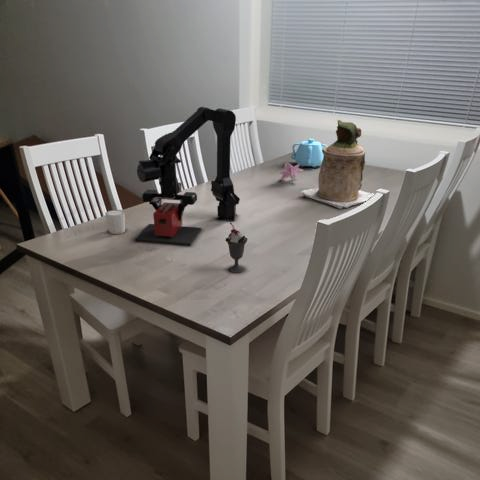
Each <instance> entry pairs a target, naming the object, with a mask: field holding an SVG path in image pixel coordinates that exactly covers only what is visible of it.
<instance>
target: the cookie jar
mask: <svg viewBox="0 0 480 480" xmlns="http://www.w3.org/2000/svg"><path fill="white" fill-rule="evenodd" d="M335 134H336V138H337V139H336V140H335V141H333V143H331V144H330V145H327V146H326V147H325V146H323V147H322V148H323V149H322V153H323V160H322V164H321V165H320V169H319V173H318V177H317V179H318V180H317V181H318V182H317V183H318V187H315V188H310V189H303V190H301V191H300V193H301V194H302V198H303V197H307V198H310V199H313V200H315V201H318V202H321V203H324V204H327V205H330V206H333V207H335V208H337V209H339V210H342V208H349V207H352V206H357V205H359V204H362V203H365V201H366V202H368V201H367V200H368V199H369V198H370V197H372V196H373V195H374V194H375V193H373V192H368V191H364V190H361V188H362V181H363V178H364V177H363V171H364V170H365V164H366V151H365V150H364V148H363V147H362V146H361V145H359V144H358V140H357V139H358V138H360V137H361V136H362V129H361V128H360V127H357V124H355V123H353V122H352V121H351V122H350V121H348V122H347V121H342V120H340V119H337V126H336V130H335Z"/></svg>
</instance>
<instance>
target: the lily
mask: <svg viewBox="0 0 480 480" xmlns="http://www.w3.org/2000/svg"><path fill="white" fill-rule="evenodd" d="M300 166H301V165H300V164H296V165H294V166H293V164H291V163H289V162H285V163H284V170H280V171H278V172H277V173H278V174H280V175H281V177H280V181H283V180H284V179H287V178H290V179H291V181H292V182H291V183H292V184H294V180H296V177H297V176H296V175H297V174H300V173H303V172H305V170H304V169H302V168H299V167H300Z"/></svg>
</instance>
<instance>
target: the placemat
mask: <svg viewBox="0 0 480 480" xmlns="http://www.w3.org/2000/svg"><path fill="white" fill-rule="evenodd" d="M201 231H202V228H201V227H197V226H183V225H182V226H181V227H180V228H179V230H178V231H177V232H176V234H175V235H174V236H173V237H169V236H156V235H155V227H154V223H148V225H146V227H145V228H143V230H142V231H141V232H139V234H138V235H137V236H136V237H135V239H134V241H135V243H136V242H138V243H150V244H161V245H163V244H164V245H173V246H187V247H191V246H192V245H193V243H194V241H195V240H196V238H197V237H198V235H199V234H200V232H201Z"/></svg>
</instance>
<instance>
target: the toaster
mask: <svg viewBox="0 0 480 480" xmlns="http://www.w3.org/2000/svg"><path fill="white" fill-rule="evenodd" d="M161 204H162V205H161V206H160V207H159V208H158V209H157V210H155V211H154V212H153V214H152V215H153V217H152V218H153V224H154V227H155V235H156V236H169V237H173V236H174V235H175V234H176V232H177V231H178V230H179V228H180V227H181V226H183V218H182V219H181V221H179V211H178V205H179V204H180V202H179V203H178V202H165V201H164V202H163V203H161Z"/></svg>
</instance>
